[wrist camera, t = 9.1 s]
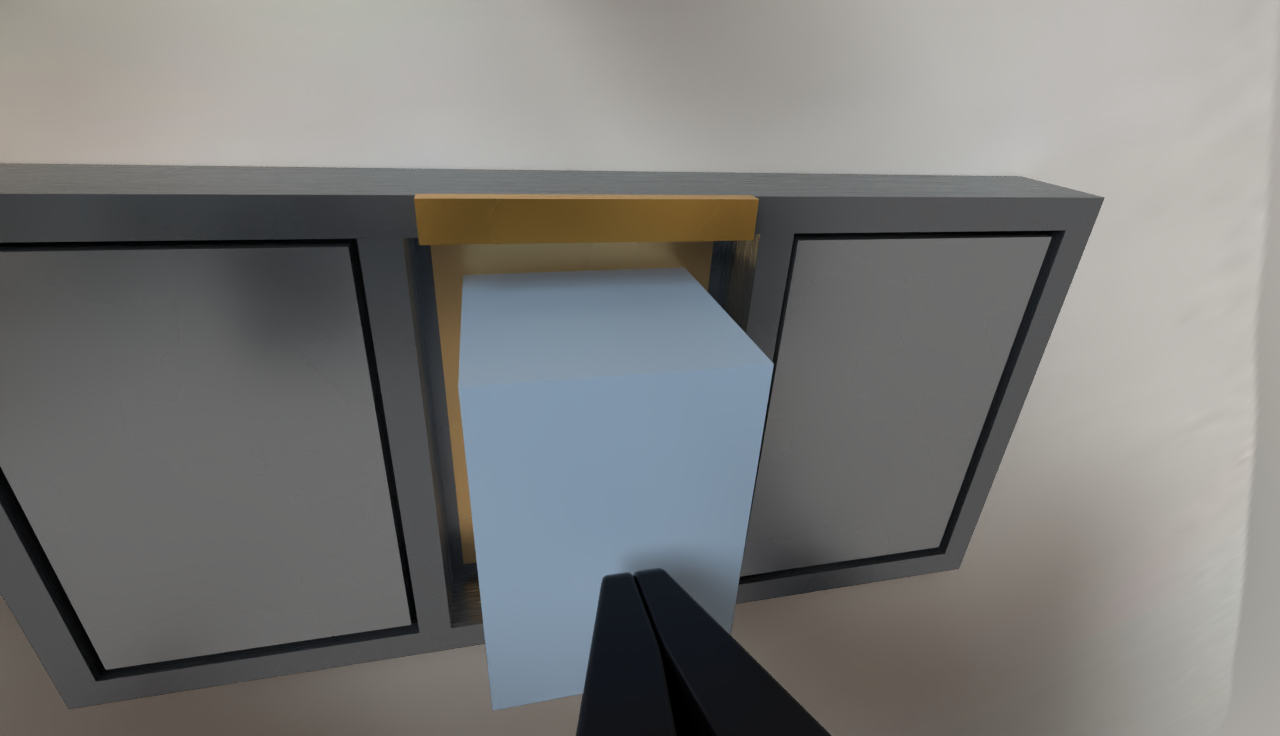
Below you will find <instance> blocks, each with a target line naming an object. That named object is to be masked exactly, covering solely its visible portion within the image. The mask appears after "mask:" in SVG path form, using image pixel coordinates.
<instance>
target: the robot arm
mask: <svg viewBox="0 0 1280 736" xmlns="http://www.w3.org/2000/svg"><path fill="white" fill-rule="evenodd" d="M576 736H831V735H830V734H829V733H828V732H827V731H826V730H825V729H824V728H823V727H822V726H821V725H820V724H819V723H818V722H817V721H816V720H815V719H814V718H813V717H812V716H811V715H810V714H809V713H808V712H807V711H806V710H805V709H804V708H803V707H802V706H801V705H800V704H799V703H798V702H797V701H796V700H795V699H794V698H793V697H792V696H791V695H790V694H789V693H788V692H787V691H786V690H785V689H784V688H783V687H782V686H781V685H780V684H779V683H778V682H777V681H776V680H775V679H774V678H773V677H772V676H771V675H770V674H769V673H768V672H767V671H766V670H765V669H764V668H763V667H762V666H761V665H760V664H759V663H758V662H757V661H756V660H755V659H754V658H753V657H752V656H751V655H750V654H749V653H748V652H747V651H746V650H745V649H744V648H743V647H742V646H741V645H740V644H739V643H738V642H737V641H736V640H735V639H734V638H733V637H732V636H731V635H730V634H729V633H728V632H727V631H726V630H725V629H724V628H723V627H722V626H721V625H720V624H719V623H718V622H717V621H716V620H715V619H714V618H713V617H712V616H711V615H710V614H709V613H708V612H707V611H706V610H705V609H704V608H703V607H702V606H701V605H700V604H699V603H698V602H697V601H696V600H694V599H693V598H692V597H691V596H690V595H689V594H688V593H687V592H686V591H685V590H684V589H683V588H682V587H681V586H680V585H679V584H678V583H677V582H676V581H675V580H674V579H673V578H672V577H671V576H670V575H669V574H668V573H667V572H666V571H665V570H664V569H661V568H654V569H647V570H639V571H636V572H635V573H634V574H633V575H632V574H631V573H629V572H625V573H618V574H611V575H606V576H604V577H603V578H602V582H601V588H600V594H599V600H598V606H597V612H596V618H595V624H594V630H593V636H592V642H591V648H590V654H589V660H588V666H587V672H586V678H585V684H584V690H583V696H582V702H581V708H580V714H579V720H578V726H577V732H576Z"/></svg>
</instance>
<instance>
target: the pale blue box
mask: <svg viewBox="0 0 1280 736" xmlns="http://www.w3.org/2000/svg"><path fill="white" fill-rule="evenodd" d="M773 366H774V364H773V363H772V361H771V360H770V359H769V358H768V357H767V356H766V355H765V354H764V353H763V352H762V351H761V350H760V348H759V347H758V346H757V345H756V344H755V343H754V342H753V341H752V340H751V339H750V338H749V336H748V335H747V334H746V333H745V332H744V331H743V330H742V329H741V328H740V327H739V326H738V325H737V323H736V322H735V321H734V320H733V319H732V318H731V317H730V316H729V315H728V314H727V313H726V312H725V310H724V309H723V308H722V307H721V306H720V305H719V304H718V303H717V302H716V301H715V300H714V298H713V297H712V296H711V295H710V294H709V293H708V292H707V291H706V290H705V289H704V288H703V287H702V285H701V284H700V283H699V282H698V281H697V280H696V279H695V278H694V277H693V276H692V275H691V274H690V272H689V271H688V270H687V269H686V268H685V267H677V268H648V269H619V270H590V271H561V272H532V273H503V274H474V275H463V288H462V311H461V334H460V357H459V380H458V390H459V400H460V409H461V419H462V428H463V437H464V447H465V456H466V466H467V475H468V485H469V494H470V504H471V513H472V522H473V532H474V541H475V551H476V560H477V570H478V579H479V589H480V598H481V607H482V617H483V626H484V636H485V645H486V655H487V664H488V674H489V683H490V692H491V702H492V711H494V710H499V709H504V708H510V707H515V706H520V705H525V704H531V703H536V702H541V701H547V700H552V699H557V698H562V697H568V696H573V695H578V694H583V690H584V684H585V678H586V672H587V666H588V660H589V654H590V648H591V642H592V636H593V630H594V624H595V618H596V612H597V606H598V600H599V594H600V588H601V582H602V578H603V577H604V576H606V575H611V574H618V573H625V572H629V573H631V574H632V575H633V574H634V573H635V572H636V571H639V570H647V569H654V568H661V569H664V570H665V571H666V572H667V573H668V574H669V575H670V576H671V577H672V578H673V579H674V580H675V581H676V582H677V583H678V584H679V585H680V586H681V587H682V588H683V589H684V590H685V591H686V592H687V593H688V594H689V595H690V596H691V597H692V598H693V599H694V600H696V601H697V602H698V603H699V604H700V605H701V606H702V607H703V608H704V609H705V610H706V611H707V612H708V613H709V614H710V615H711V616H712V617H713V618H714V619H715V620H716V621H717V622H718V623H719V624H720V625H721V626H722V627H723V628H724V629H725V630H726V631H727V632H728V633H729V634H731V627H732V621H733V615H734V609H735V603H736V596H737V590H738V584H739V578H740V572H741V565H742V559H743V553H744V547H745V540H746V534H747V528H748V522H749V516H750V509H751V503H752V497H753V491H754V485H755V478H756V472H757V466H758V460H759V453H760V447H761V441H762V435H763V429H764V422H765V416H766V410H767V404H768V398H769V391H770V385H771V379H772V373H773Z"/></svg>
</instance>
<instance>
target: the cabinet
mask: <svg viewBox="0 0 1280 736" xmlns="http://www.w3.org/2000/svg"><path fill="white" fill-rule="evenodd" d="M1103 200H1104V197H1100V196H1096V195H1092V194H1088V193H1084V192H1080V191H1076V190H1072V189H1068V188H1065V187H1061V186H1057V185H1053V184H1049V183H1045V182H1041V181H1037V180H1033V179H1029V178H1025V177H1015V176H937V175H859V174H781V173H704V172H626V171H548V170H470V169H393V168H315V167H237V166H159V165H82V164H4V163H0V593H1V594H2V596H3V598H4V600H5V601H6V603H7V605H8V606H9V608H10V610H11V612H12V613H13V615H14V617H15V618H16V620H17V622H18V623H19V625H20V627H21V629H22V630H23V632H24V634H25V635H26V637H27V639H28V641H29V642H30V644H31V646H32V647H33V649H34V651H35V653H36V654H37V656H38V658H39V659H40V661H41V663H42V665H43V666H44V668H45V670H46V671H47V673H48V675H49V677H50V678H51V680H52V682H53V683H54V685H55V687H56V688H57V690H58V692H59V694H60V695H61V697H62V699H63V700H64V702H65V704H66V706H67V707H68V709H73V708H80V707H86V706H92V705H99V704H105V703H111V702H118V701H124V700H130V699H137V698H143V697H149V696H156V695H162V694H168V693H175V692H181V691H187V690H194V689H200V688H206V687H213V686H219V685H225V684H232V683H238V682H244V681H251V680H257V679H263V678H270V677H276V676H282V675H289V674H295V673H301V672H308V671H314V670H320V669H327V668H333V667H339V666H346V665H352V664H358V663H365V662H371V661H377V660H384V659H390V658H396V657H403V656H409V655H415V654H422V653H428V652H434V651H441V650H447V649H453V648H460V647H466V646H472V645H479V644H485V636H484V626H483V617H482V607H481V598H480V589H479V579H478V570H477V560H476V551H475V541H474V532H473V522H472V513H471V504H470V494H469V485H468V475H467V466H466V456H465V447H464V437H463V428H462V419H461V409H460V400H459V390H458V380H459V357H460V334H461V311H462V288H463V275H474V274H503V273H532V272H561V271H590V270H619V269H648V268H677V267H685V268H686V269H687V270H688V271H689V272H690V274H691V275H692V276H693V277H694V278H695V279H696V280H697V281H698V282H699V283H700V284H701V285H702V287H703V288H704V289H705V290H706V291H707V292H708V293H709V294H710V295H711V296H712V297H713V298H714V300H715V301H716V302H717V303H718V304H719V305H720V306H721V307H722V308H723V309H724V310H725V312H726V313H727V314H728V315H729V316H730V317H731V318H732V319H733V320H734V321H735V322H736V323H737V325H738V326H739V327H740V328H741V329H742V330H743V331H744V332H745V333H746V334H747V335H748V336H749V338H750V339H751V340H752V341H753V342H754V343H755V344H756V345H757V346H758V347H759V348H760V350H761V351H762V352H763V353H764V354H765V355H766V356H767V357H768V358H769V359H770V360H771V361H772V363H773V364H774V366H773V373H772V379H771V385H770V391H769V398H768V404H767V410H766V416H765V422H764V429H763V435H762V441H761V447H760V453H759V460H758V466H757V472H756V478H755V485H754V491H753V497H752V503H751V509H750V516H749V522H748V528H747V534H746V540H745V547H744V553H743V559H742V565H741V572H740V578H739V584H738V590H737V596H736V603H735V604H738V603H745V602H751V601H757V600H764V599H770V598H776V597H783V596H789V595H795V594H802V593H808V592H814V591H821V590H827V589H833V588H840V587H846V586H852V585H859V584H865V583H871V582H878V581H884V580H890V579H897V578H903V577H909V576H916V575H922V574H928V573H935V572H941V571H947V570H954V569H959V567H960V564H961V562H962V559H963V557H964V554H965V552H966V549H967V547H968V544H969V542H970V539H971V536H972V534H973V531H974V529H975V526H976V524H977V521H978V519H979V516H980V514H981V511H982V508H983V506H984V503H985V501H986V498H987V496H988V493H989V491H990V488H991V486H992V483H993V480H994V478H995V475H996V473H997V470H998V468H999V465H1000V463H1001V460H1002V458H1003V455H1004V452H1005V450H1006V447H1007V445H1008V442H1009V440H1010V437H1011V435H1012V432H1013V430H1014V427H1015V424H1016V422H1017V419H1018V417H1019V414H1020V412H1021V409H1022V407H1023V404H1024V402H1025V399H1026V396H1027V394H1028V391H1029V389H1030V386H1031V384H1032V381H1033V379H1034V376H1035V374H1036V371H1037V368H1038V366H1039V363H1040V361H1041V358H1042V356H1043V353H1044V351H1045V348H1046V346H1047V343H1048V340H1049V338H1050V335H1051V333H1052V330H1053V328H1054V325H1055V323H1056V320H1057V318H1058V315H1059V312H1060V310H1061V307H1062V305H1063V302H1064V300H1065V297H1066V295H1067V292H1068V289H1069V287H1070V284H1071V282H1072V279H1073V277H1074V274H1075V272H1076V269H1077V267H1078V264H1079V261H1080V259H1081V256H1082V254H1083V251H1084V249H1085V246H1086V244H1087V241H1088V239H1089V236H1090V233H1091V231H1092V228H1093V226H1094V223H1095V221H1096V218H1097V216H1098V213H1099V211H1100V208H1101V205H1102V203H1103Z"/></svg>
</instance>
